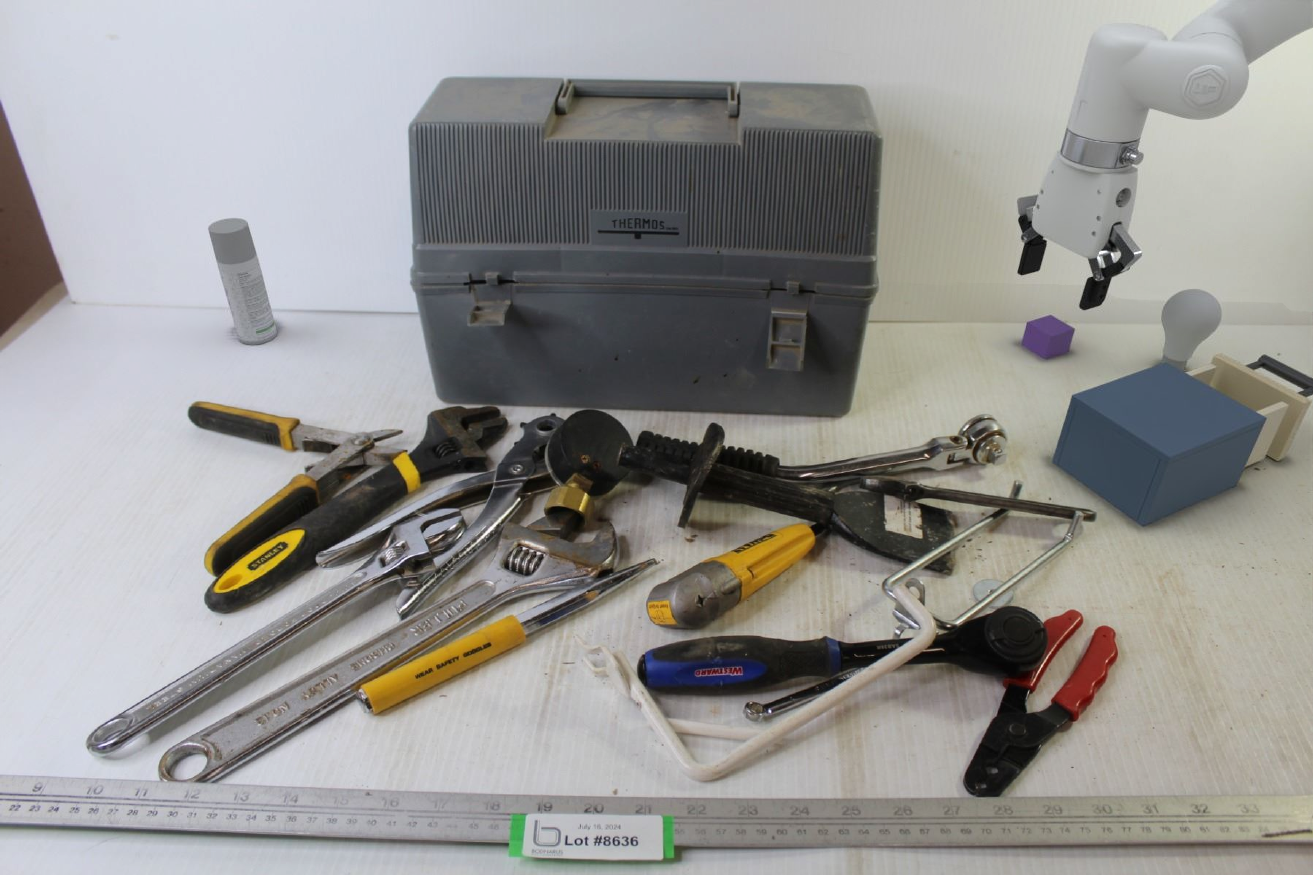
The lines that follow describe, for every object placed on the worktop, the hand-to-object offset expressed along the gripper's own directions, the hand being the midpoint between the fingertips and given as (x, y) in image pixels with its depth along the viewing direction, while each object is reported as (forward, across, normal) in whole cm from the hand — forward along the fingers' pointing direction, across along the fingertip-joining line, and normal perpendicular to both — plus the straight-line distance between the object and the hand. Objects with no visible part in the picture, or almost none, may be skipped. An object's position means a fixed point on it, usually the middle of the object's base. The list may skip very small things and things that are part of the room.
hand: (1058, 289), depth 115 cm
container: (+10, +49, +86) cm, 99 cm away
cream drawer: (+8, -23, -2) cm, 25 cm away
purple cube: (+9, 0, 0) cm, 9 cm away
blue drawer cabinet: (+9, -24, +10) cm, 27 cm away
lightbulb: (+9, -11, -10) cm, 17 cm away
